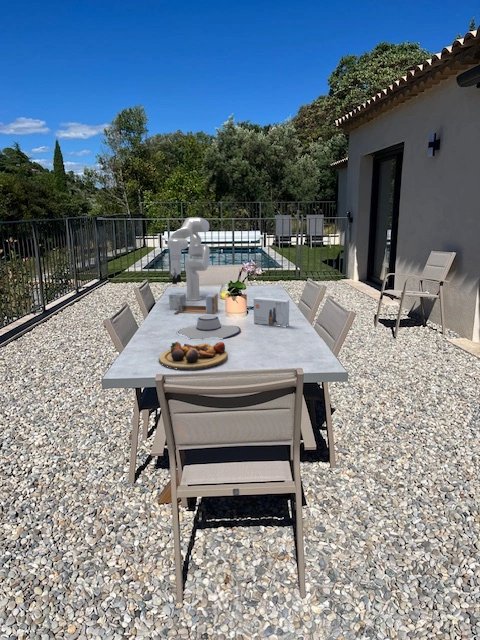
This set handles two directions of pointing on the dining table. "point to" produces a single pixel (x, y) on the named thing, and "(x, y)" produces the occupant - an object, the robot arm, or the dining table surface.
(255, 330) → the dining table surface
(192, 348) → the wooden plate with food
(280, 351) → the dining table surface
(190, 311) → the shelf
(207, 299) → the book
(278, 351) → the dining table surface
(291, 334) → the dining table surface
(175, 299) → the light bulb box
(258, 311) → the skincare box
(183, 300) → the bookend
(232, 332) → the sun hat
